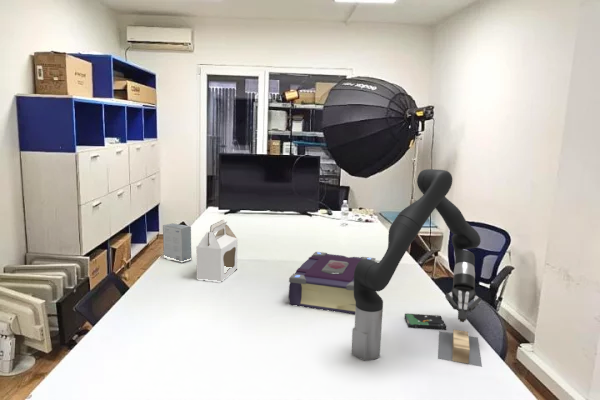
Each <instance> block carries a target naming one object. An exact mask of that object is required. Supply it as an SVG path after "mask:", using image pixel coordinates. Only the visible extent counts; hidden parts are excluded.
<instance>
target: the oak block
mask: <svg viewBox="0 0 600 400" xmlns="http://www.w3.org/2000/svg"><path fill="white" fill-rule="evenodd" d="M452 333H453V340H452V356H453V361H457V362H456V363H458V362H462V363H461V364H464V363H468V362H469V352H470V348H469V337H468V336H469V331H465V330H457V329H453V332H452ZM453 361H452V362H453Z"/></svg>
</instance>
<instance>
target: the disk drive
mask: <svg viewBox="0 0 600 400" xmlns="http://www.w3.org/2000/svg"><path fill="white" fill-rule="evenodd" d="M404 321H405V323H406V325H407V328H408V329H422V330H423V329H424V330H438V331H447V325H446V323H445V321H444V320H443V317H442V316H441V315H438V314H437V315H436V314H435V315H433V314H420V313H419V314H418V313H404Z"/></svg>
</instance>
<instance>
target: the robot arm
mask: <svg viewBox="0 0 600 400" xmlns="http://www.w3.org/2000/svg"><path fill="white" fill-rule="evenodd" d="M416 179H417V180H416V184H417V187H418V189H419V191H420V192H421V193H422V196H421V197H420V198H418V199H417V200H416V201H414V202H413V203H411V204H409V205H408V206H407V207H404V209H403V210H401V211H400V212H399V213H398V214H397V216H396V217H395V218H394V220H393V221H392V223H391V225H390V226H389V230H388V235H387V236H388V243H387V248H386V251H385V253H384V255H383V257H382V258H381V259H380V261H379V262H377V261H376V260H375V261H372V260H369V259H362V260H361V261H359V262H358V264H357V265H356V268H355V271H354V298H355V301H356V308H355V315H354V327H353V328H352V329H351V332H352V335H351V351H350V352H351V353H350V354H351V355H353V356H355V357H356V358H358V359H360V360H362V361H363V362H365V361H373V360H377V359H378V358H380V356H381V354H380V353H381V346H382V345H381V344H382V343H381V342H382V341H381V340H382V327H383V312H384V300H383V298H382V297H381V296H380V294H379V293H378V292H380V291H383V290H384V289H386V288H387V286H388V284H389V283H390V281H391V280H392V278H393V276H394V274H395V271H396V270H397V268H398V266H399V265H400V262H401V261H402V259H403V257H404V256H405V254H406V252H407V251H408V249H409V248H410V246H411V244H412V243H413V242H414V240H415V239H416V237H417V236H418V234H419V233H420V231H421V230H422V228H423V226H424V224H425V223H426V222H427V220H428V219H429V217H430V216H431V214H432V213H433V212H434V211H435V210H436V211H437V212H438V214H439V216H441V218H442V220H443V221H444V223H445V225H446V227H447V228H448V230H449V232H451V234H452V237H451V243H452V246H453V250H454V255H455V256H454V258H455V260H454V269H453V280H452V281H453V282H452V288H451V291H450V292H446V293H445V294H444V295H445V297H444V298H445V299H446V301H447V303H448V304H449V305H450V306H451V308H452V309H453V310H456V311H457V319H458V320H459V322H460V323H461V322H462V323H465V322H466V321H467V316H468V315H467V314H468V312H470V313H471V312H472V311H474V309H476V308H477V307H478V306H479V305H480V304H481V303H482V298H481V297H479V296H478V295H477V294H476V291H475V285H476V284H475V283H476V281H475V279H476V272H475V271H476V270H475V269H476V268H475V264H476V263H475V261H476V258H475V254H474V253H473V252H472V251H470V250H469V249H477V248H478V247H479V246H480V244H481V240H482V239H481V236H480V234H479V233H478V231H477V230H476V229H475V228H474V227H473V226H472V225H470V224H469V223H468V222H467V220H466V218H465V217H464V215H463V213H462V212H461V210H460V209H459V207H458V206H456V205H455V204H454V203H453V202H452V201H450V200H449V199H448V198H447V197H446V195H448V193H449V192H450V189H451V188H452V185H453V175H452V174H451V172H449V171H448V170H444V169H435V168H434V169H433V168H427V169H423V170H421V171H420V172H419V174H418V175H417V177H416ZM453 298H454V299H453ZM455 301H456V302H455ZM472 301H473V303H471V302H472ZM470 303H471V304H470ZM468 304H470V305H468Z"/></svg>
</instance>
